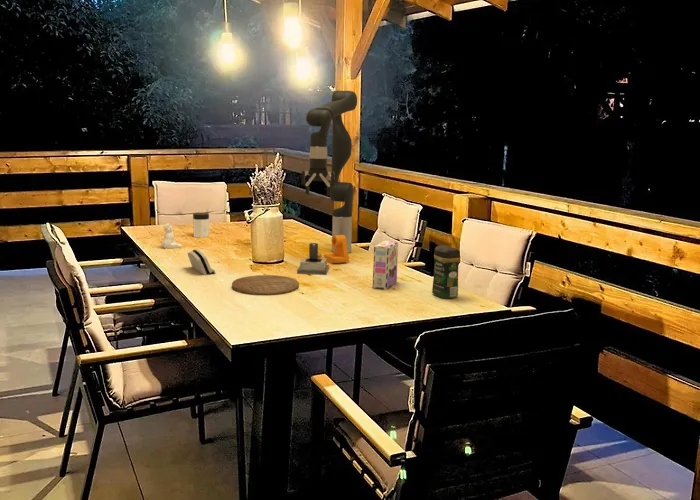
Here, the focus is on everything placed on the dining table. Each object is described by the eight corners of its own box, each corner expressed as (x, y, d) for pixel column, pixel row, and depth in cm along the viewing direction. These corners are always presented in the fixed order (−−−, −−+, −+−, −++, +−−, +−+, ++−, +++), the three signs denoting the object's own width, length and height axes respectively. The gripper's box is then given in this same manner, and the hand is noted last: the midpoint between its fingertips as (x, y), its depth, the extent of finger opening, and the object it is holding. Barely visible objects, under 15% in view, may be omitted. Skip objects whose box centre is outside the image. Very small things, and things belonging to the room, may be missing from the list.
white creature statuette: (182, 248, 323) (182, 223, 321) (165, 250, 318) (164, 225, 316) (175, 245, 331) (175, 221, 329) (158, 246, 326) (157, 222, 324)
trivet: (225, 282, 261) (225, 277, 261) (286, 277, 271) (286, 273, 271) (241, 298, 239) (241, 293, 239) (308, 293, 249) (308, 288, 248)
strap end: (305, 260, 295) (305, 251, 294) (327, 261, 294) (328, 252, 293) (300, 269, 278) (300, 260, 277) (324, 270, 278) (324, 260, 277)
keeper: (300, 267, 289) (301, 240, 287) (328, 268, 288) (329, 241, 286) (297, 273, 277) (297, 246, 275) (326, 274, 277) (326, 247, 274)
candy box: (386, 290, 254) (388, 247, 251) (372, 288, 256) (373, 245, 253) (397, 282, 267) (398, 241, 264) (383, 280, 269) (384, 239, 266)
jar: (198, 238, 351) (197, 215, 348) (189, 236, 356) (189, 213, 354) (212, 236, 357) (212, 213, 355) (204, 234, 363) (204, 212, 360)
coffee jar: (428, 293, 251) (430, 244, 247) (446, 291, 254) (448, 243, 250) (443, 300, 242) (445, 249, 238) (461, 298, 246) (464, 247, 242)
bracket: (323, 260, 305) (323, 233, 303) (337, 258, 308) (337, 232, 306) (334, 264, 296) (334, 237, 293) (348, 263, 299) (349, 236, 297)
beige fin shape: (216, 274, 273) (207, 251, 270) (205, 279, 271) (196, 256, 268) (203, 265, 287) (195, 244, 284) (193, 270, 286) (185, 249, 282)
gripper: (335, 157, 292) (334, 194, 295) (302, 156, 293) (302, 193, 296) (334, 158, 285) (333, 196, 288) (300, 157, 285) (300, 195, 288)
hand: (317, 195), depth 292 cm, fingers open, 8 cm apart
